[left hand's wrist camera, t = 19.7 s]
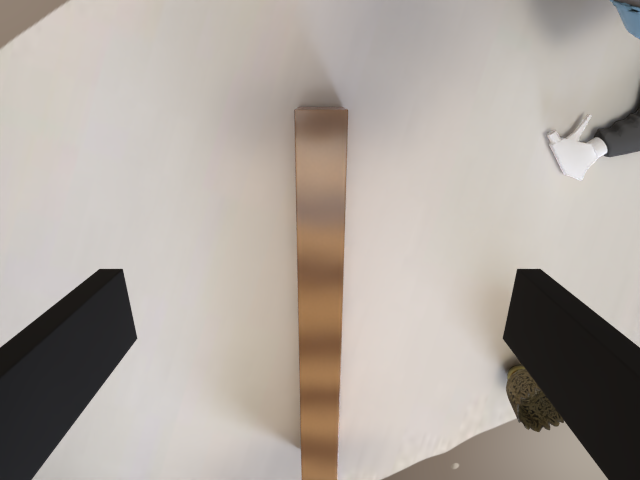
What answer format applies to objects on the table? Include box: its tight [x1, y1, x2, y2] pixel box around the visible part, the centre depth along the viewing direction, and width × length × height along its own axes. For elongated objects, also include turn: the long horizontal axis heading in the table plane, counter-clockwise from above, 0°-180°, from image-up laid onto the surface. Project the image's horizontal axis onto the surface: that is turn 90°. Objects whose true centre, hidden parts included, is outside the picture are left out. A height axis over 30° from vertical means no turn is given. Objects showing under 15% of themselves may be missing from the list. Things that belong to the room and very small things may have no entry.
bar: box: [294, 107, 348, 480], centre depth 52 cm, size 57×5×8 cm, turn 0°
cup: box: [506, 365, 564, 432], centre depth 56 cm, size 8×7×8 cm
